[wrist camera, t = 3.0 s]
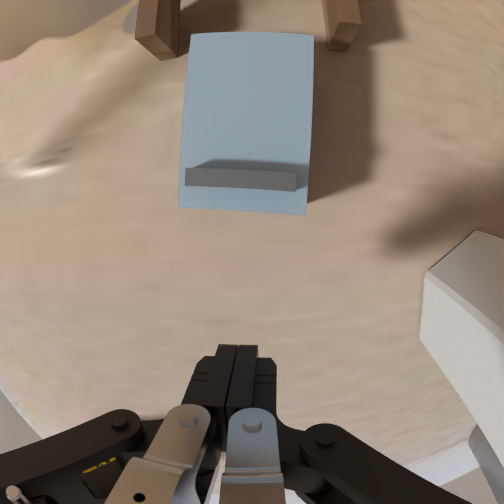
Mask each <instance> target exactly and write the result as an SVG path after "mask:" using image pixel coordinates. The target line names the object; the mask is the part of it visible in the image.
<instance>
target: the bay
mask: <svg viewBox="0 0 504 504" xmlns="http://www.w3.org/2000/svg"><path fill="white" fill-rule="evenodd" d="M180 1H181V0H139V6H138V15H137V22H136V31H135V39H136V40H137V41H138V42H139V43H140V44H141V45H143V46H144V47H145V48H146V49H147V50H149V51H150V52H151V53H152V54H153V55H154V56H156V57H157V58H158V59H159V60H160V61H161V60H166V59H172V58H178V33H179V15H180ZM322 5H323V12H324V20H325V27H326V35H327V44H328V49H329V50H343V51H347V49H348V48H349V46H350V44H351V42H352V41H353V39H354V37H355V35H356V34H357V32H358V30H359V28H360V27H361V25H362V22H361V16H360V11H359V6H358V1H357V0H322Z"/></svg>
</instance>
